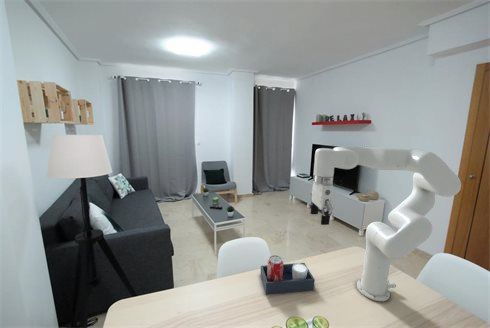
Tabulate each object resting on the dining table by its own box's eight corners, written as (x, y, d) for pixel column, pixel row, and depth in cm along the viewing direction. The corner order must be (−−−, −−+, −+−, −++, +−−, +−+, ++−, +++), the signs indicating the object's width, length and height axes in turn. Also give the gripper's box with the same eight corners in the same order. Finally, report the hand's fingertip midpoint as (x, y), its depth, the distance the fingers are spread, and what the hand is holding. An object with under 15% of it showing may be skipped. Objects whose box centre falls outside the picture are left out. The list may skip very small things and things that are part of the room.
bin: (303, 272, 109) (304, 262, 108) (313, 290, 98) (314, 279, 97) (260, 276, 106) (260, 265, 105) (265, 294, 95) (266, 283, 94)
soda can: (264, 279, 103) (264, 256, 100) (277, 275, 106) (278, 253, 103) (271, 290, 97) (272, 265, 94) (285, 285, 99) (286, 262, 97)
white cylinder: (306, 288, 98) (308, 274, 97) (291, 285, 100) (292, 271, 98) (306, 277, 105) (307, 264, 103) (291, 274, 106) (292, 261, 105)
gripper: (343, 185, 81) (338, 228, 84) (321, 173, 98) (318, 210, 101) (324, 185, 80) (320, 229, 83) (305, 174, 97) (302, 210, 100)
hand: (319, 219), depth 92 cm, fingers open, 9 cm apart
